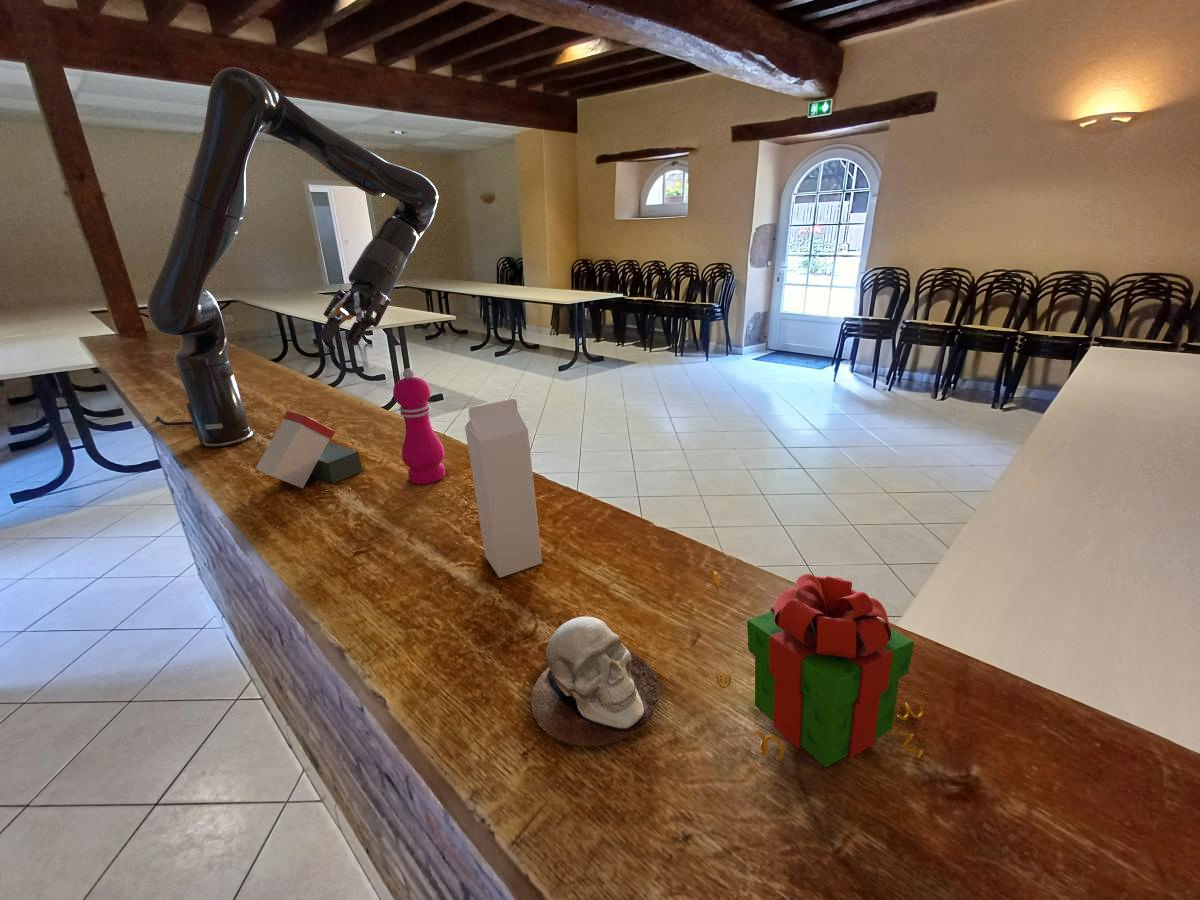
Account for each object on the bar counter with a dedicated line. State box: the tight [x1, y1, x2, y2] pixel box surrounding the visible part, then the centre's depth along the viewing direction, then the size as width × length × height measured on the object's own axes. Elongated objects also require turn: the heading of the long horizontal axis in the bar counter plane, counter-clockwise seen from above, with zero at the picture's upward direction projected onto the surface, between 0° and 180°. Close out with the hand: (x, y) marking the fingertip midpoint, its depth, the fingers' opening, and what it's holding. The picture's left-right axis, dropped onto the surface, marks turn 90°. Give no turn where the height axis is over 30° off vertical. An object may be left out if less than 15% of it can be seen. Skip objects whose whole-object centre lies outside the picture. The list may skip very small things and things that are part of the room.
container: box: [255, 410, 336, 489], centre depth 98 cm, size 12×6×12 cm, turn 145°
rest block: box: [310, 441, 364, 484], centre depth 104 cm, size 6×12×4 cm, turn 55°
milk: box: [464, 398, 543, 578], centre depth 69 cm, size 6×6×22 cm
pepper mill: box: [392, 368, 446, 485], centre depth 96 cm, size 7×7×20 cm
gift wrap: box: [709, 570, 925, 768], centre depth 45 cm, size 20×19×14 cm
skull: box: [530, 616, 660, 747], centre depth 51 cm, size 12×10×10 cm
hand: (337, 341), depth 101 cm, fingers open, 8 cm apart
